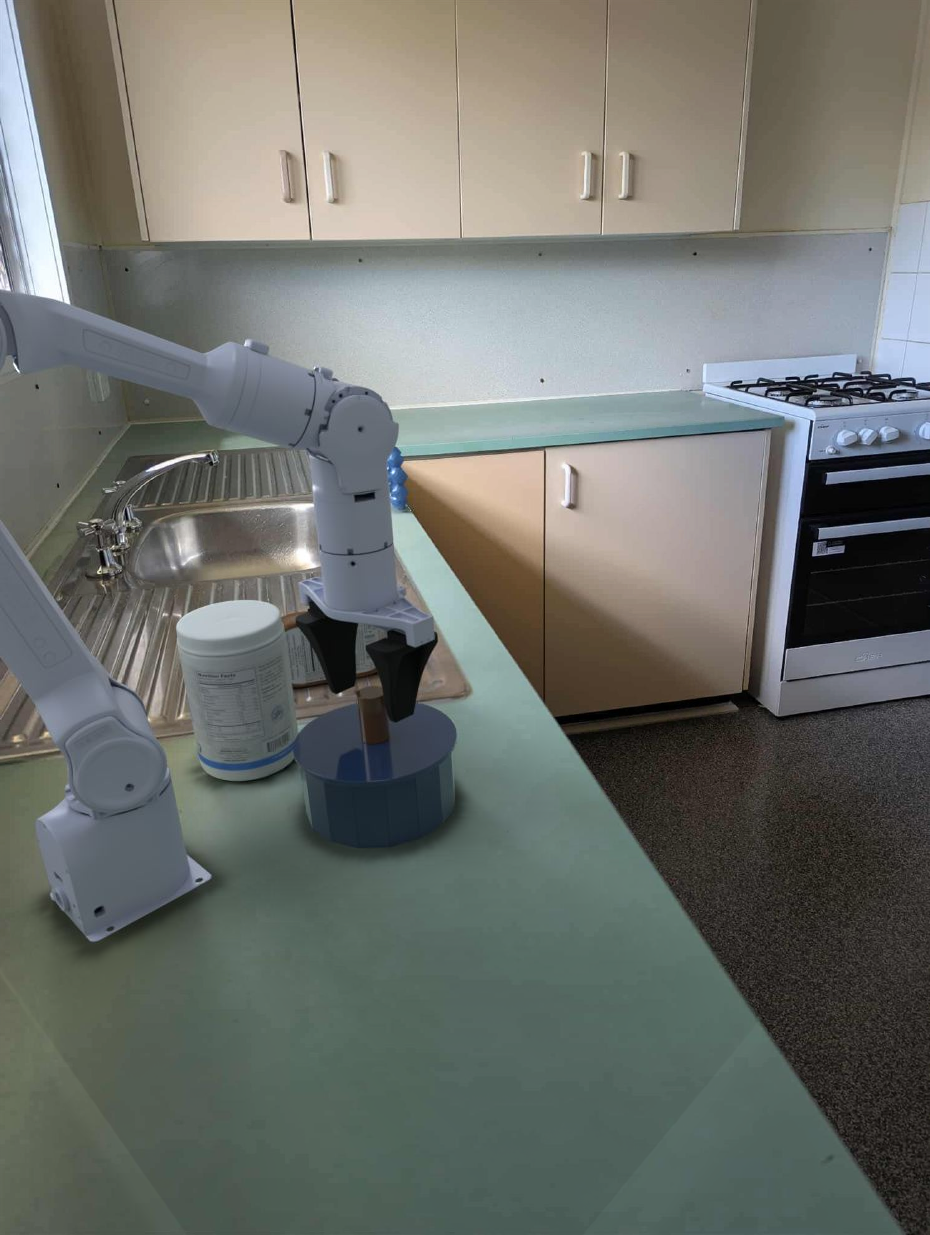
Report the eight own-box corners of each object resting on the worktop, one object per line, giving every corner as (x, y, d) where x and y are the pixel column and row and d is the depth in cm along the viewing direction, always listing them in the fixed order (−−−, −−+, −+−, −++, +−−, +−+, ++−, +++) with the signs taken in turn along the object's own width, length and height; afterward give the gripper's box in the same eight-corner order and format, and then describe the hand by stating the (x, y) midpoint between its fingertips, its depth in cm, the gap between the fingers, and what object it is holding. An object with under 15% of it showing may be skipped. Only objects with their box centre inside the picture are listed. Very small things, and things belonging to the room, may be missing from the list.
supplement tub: (209, 738, 88) (185, 602, 83) (304, 729, 89) (286, 594, 83) (191, 790, 79) (162, 642, 74) (297, 781, 80) (276, 632, 74)
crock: (372, 874, 67) (364, 803, 65) (279, 812, 75) (269, 747, 73) (485, 803, 75) (482, 738, 73) (390, 754, 84) (384, 694, 81)
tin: (394, 662, 103) (388, 595, 100) (401, 672, 100) (395, 604, 97) (265, 685, 99) (255, 616, 96) (269, 697, 96) (258, 626, 93)
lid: (364, 815, 64) (357, 753, 62) (262, 753, 73) (253, 697, 71) (491, 743, 73) (488, 686, 71) (386, 696, 82) (381, 644, 80)
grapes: (372, 503, 175) (366, 442, 170) (405, 499, 176) (400, 439, 172) (380, 517, 164) (374, 453, 160) (415, 513, 165) (410, 450, 161)
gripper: (459, 548, 64) (468, 711, 70) (340, 517, 74) (355, 663, 79) (386, 573, 60) (401, 746, 65) (269, 537, 70) (290, 689, 75)
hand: (371, 702), depth 72 cm, fingers open, 7 cm apart
